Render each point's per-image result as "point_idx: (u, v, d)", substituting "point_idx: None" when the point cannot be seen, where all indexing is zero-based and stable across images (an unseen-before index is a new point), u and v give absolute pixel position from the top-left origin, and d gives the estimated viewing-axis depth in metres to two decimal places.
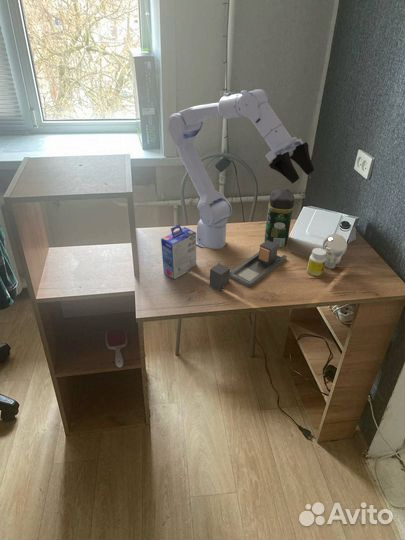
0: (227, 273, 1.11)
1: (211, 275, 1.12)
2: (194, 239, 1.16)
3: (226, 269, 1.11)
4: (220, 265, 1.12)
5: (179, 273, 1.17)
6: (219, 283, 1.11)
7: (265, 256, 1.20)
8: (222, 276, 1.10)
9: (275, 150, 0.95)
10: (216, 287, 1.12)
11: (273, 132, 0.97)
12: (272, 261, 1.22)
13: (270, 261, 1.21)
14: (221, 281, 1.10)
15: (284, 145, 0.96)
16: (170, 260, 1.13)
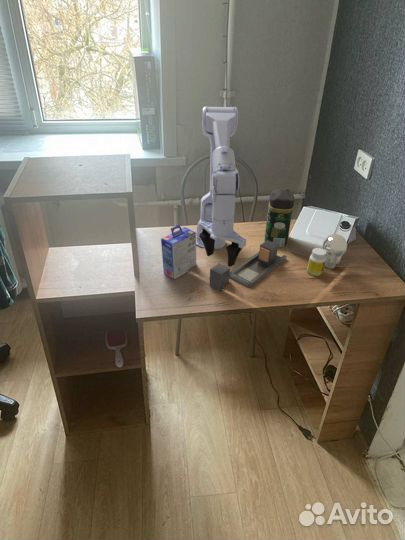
0: (227, 273, 1.11)
1: (211, 275, 1.12)
2: (194, 239, 1.16)
3: (226, 269, 1.11)
4: (220, 265, 1.12)
5: (179, 273, 1.17)
6: (219, 283, 1.11)
7: (265, 256, 1.20)
8: (222, 276, 1.10)
9: (203, 227, 1.06)
10: (216, 287, 1.12)
11: None
12: (272, 261, 1.22)
13: (270, 261, 1.21)
14: (221, 281, 1.10)
15: (208, 232, 1.04)
16: (170, 260, 1.13)
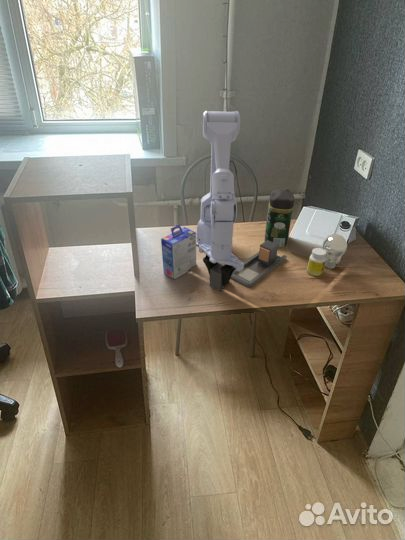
0: None
1: (211, 275, 1.12)
2: (194, 239, 1.16)
3: None
4: (220, 265, 1.12)
5: (179, 273, 1.17)
6: (219, 283, 1.11)
7: (265, 256, 1.20)
8: None
9: (202, 249, 1.11)
10: (216, 287, 1.12)
11: None
12: (272, 261, 1.22)
13: (270, 261, 1.21)
14: (221, 281, 1.10)
15: (208, 255, 1.09)
16: (170, 260, 1.13)
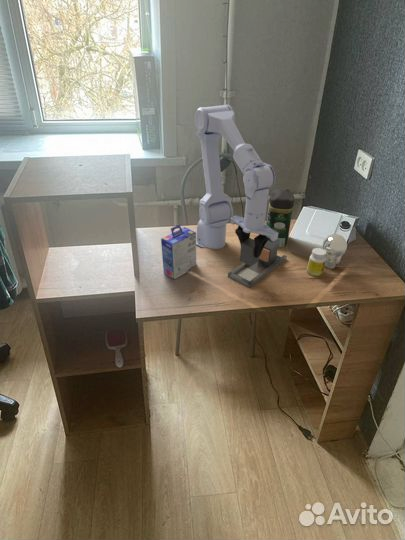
0: None
1: (242, 249, 1.11)
2: (194, 239, 1.16)
3: None
4: (251, 239, 1.12)
5: (179, 273, 1.17)
6: (250, 257, 1.10)
7: (265, 256, 1.20)
8: (253, 250, 1.09)
9: (234, 221, 1.10)
10: (247, 262, 1.12)
11: None
12: (272, 261, 1.22)
13: (270, 261, 1.21)
14: (252, 255, 1.10)
15: (240, 225, 1.08)
16: (170, 260, 1.13)
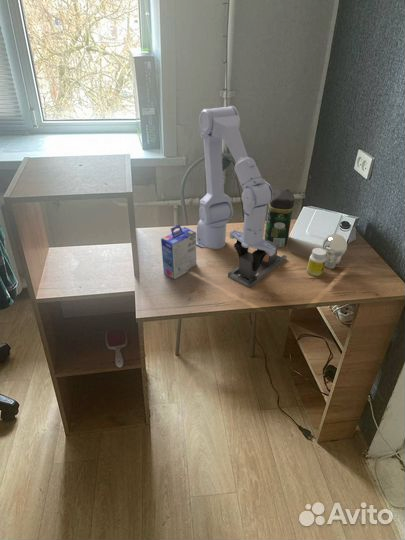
0: None
1: (241, 263, 1.14)
2: (194, 239, 1.16)
3: None
4: (249, 253, 1.15)
5: (179, 273, 1.17)
6: (249, 271, 1.13)
7: (265, 256, 1.20)
8: (252, 264, 1.12)
9: (233, 235, 1.13)
10: (245, 275, 1.15)
11: (243, 226, 1.08)
12: (272, 261, 1.22)
13: (270, 261, 1.21)
14: (250, 269, 1.13)
15: (239, 240, 1.11)
16: (170, 260, 1.13)
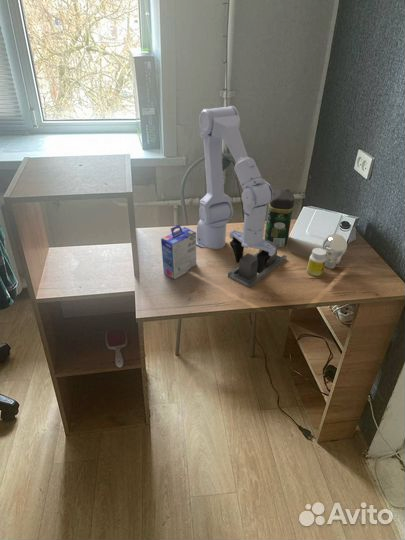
0: (256, 263, 1.14)
1: (240, 265, 1.14)
2: (194, 239, 1.16)
3: (255, 259, 1.13)
4: (249, 255, 1.15)
5: (179, 273, 1.17)
6: (248, 272, 1.13)
7: None
8: (252, 265, 1.12)
9: (233, 235, 1.13)
10: (245, 276, 1.15)
11: (243, 226, 1.08)
12: (272, 261, 1.22)
13: (270, 261, 1.21)
14: (250, 271, 1.13)
15: (239, 240, 1.11)
16: (170, 260, 1.13)
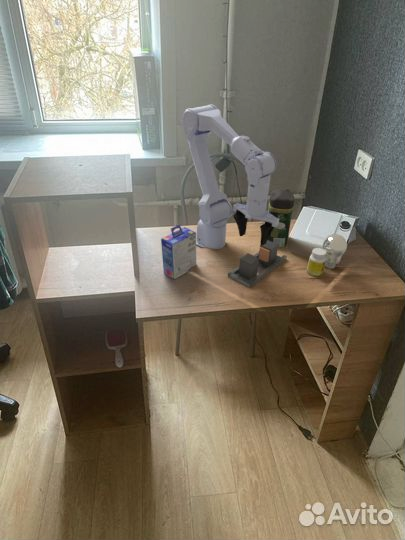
0: (256, 263, 1.14)
1: (240, 265, 1.14)
2: (194, 239, 1.16)
3: (255, 259, 1.13)
4: (249, 255, 1.15)
5: (179, 273, 1.17)
6: (248, 272, 1.13)
7: (265, 256, 1.20)
8: (252, 265, 1.12)
9: (237, 208, 1.14)
10: (245, 276, 1.15)
11: (247, 198, 1.10)
12: (272, 261, 1.22)
13: (270, 261, 1.21)
14: (250, 271, 1.13)
15: (243, 212, 1.12)
16: (170, 260, 1.13)
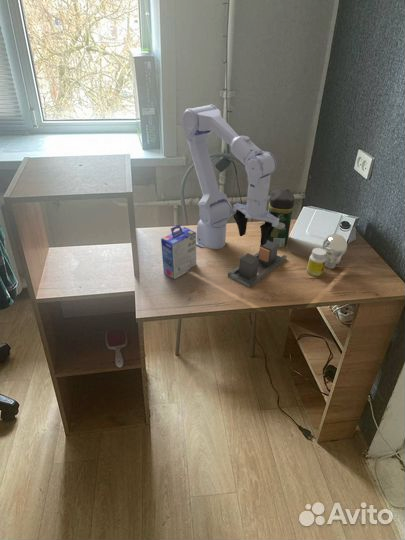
0: (256, 263, 1.14)
1: (240, 265, 1.14)
2: (194, 239, 1.16)
3: (255, 259, 1.13)
4: (249, 255, 1.15)
5: (179, 273, 1.17)
6: (248, 272, 1.13)
7: (265, 256, 1.20)
8: (252, 265, 1.12)
9: (237, 208, 1.14)
10: (245, 276, 1.15)
11: (247, 198, 1.10)
12: (272, 261, 1.22)
13: (270, 261, 1.21)
14: (250, 271, 1.13)
15: (243, 212, 1.12)
16: (170, 260, 1.13)
